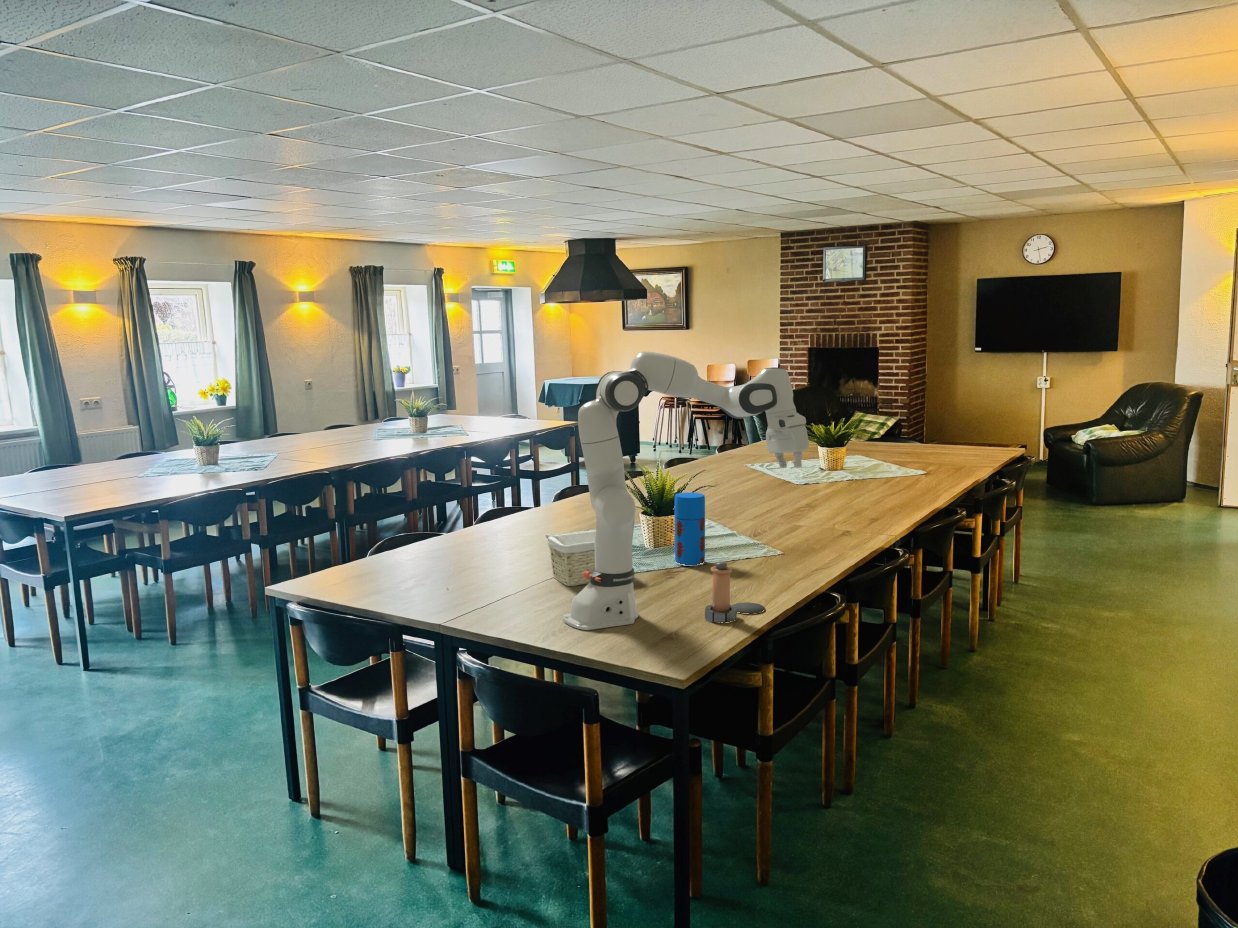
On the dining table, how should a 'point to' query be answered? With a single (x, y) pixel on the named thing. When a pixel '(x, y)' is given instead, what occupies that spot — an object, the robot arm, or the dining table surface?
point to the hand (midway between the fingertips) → (790, 467)
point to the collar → (720, 614)
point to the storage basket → (572, 556)
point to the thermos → (690, 528)
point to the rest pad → (749, 607)
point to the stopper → (721, 587)
